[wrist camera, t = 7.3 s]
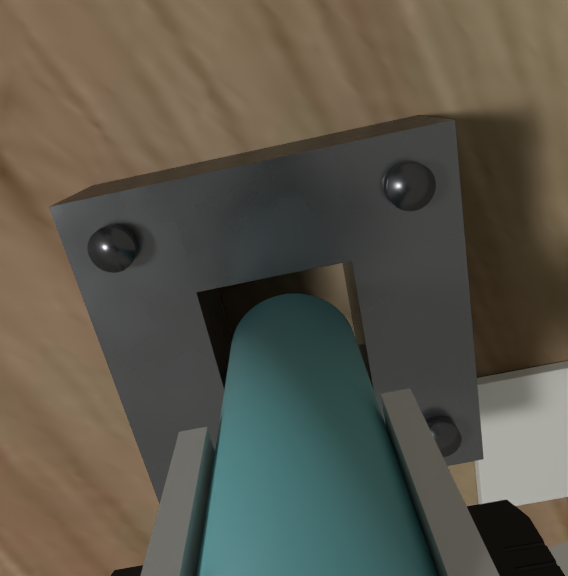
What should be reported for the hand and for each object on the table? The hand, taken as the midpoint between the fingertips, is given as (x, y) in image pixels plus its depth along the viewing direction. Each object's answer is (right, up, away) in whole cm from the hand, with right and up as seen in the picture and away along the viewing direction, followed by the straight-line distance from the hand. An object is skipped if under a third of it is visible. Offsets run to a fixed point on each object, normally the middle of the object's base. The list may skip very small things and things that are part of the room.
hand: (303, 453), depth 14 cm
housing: (0, +4, +10) cm, 11 cm away
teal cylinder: (0, +2, +5) cm, 6 cm away
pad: (+13, -3, +13) cm, 19 cm away
